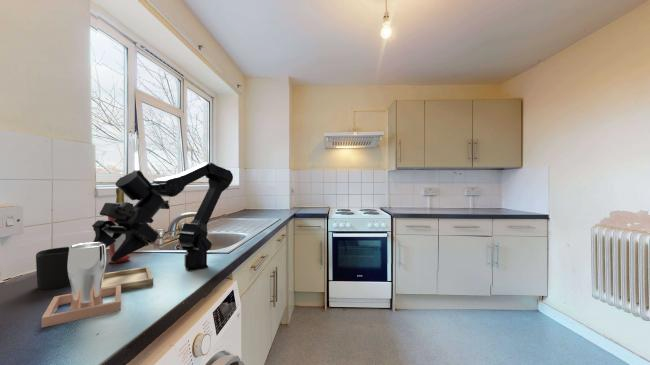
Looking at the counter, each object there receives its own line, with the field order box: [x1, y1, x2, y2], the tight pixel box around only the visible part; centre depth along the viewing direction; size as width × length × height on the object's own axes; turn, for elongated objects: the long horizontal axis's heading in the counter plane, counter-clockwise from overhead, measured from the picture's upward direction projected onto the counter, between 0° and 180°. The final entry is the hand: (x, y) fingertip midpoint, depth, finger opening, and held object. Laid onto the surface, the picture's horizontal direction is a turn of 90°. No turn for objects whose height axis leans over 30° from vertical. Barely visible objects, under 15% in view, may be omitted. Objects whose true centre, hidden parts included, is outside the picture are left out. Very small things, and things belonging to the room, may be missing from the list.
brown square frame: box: [41, 285, 122, 329], centre depth 64 cm, size 13×13×2 cm
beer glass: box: [67, 242, 107, 311], centre depth 64 cm, size 7×7×15 cm
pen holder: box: [35, 246, 71, 291], centre depth 78 cm, size 9×9×10 cm
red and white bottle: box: [107, 187, 131, 264], centre depth 101 cm, size 7×7×28 cm
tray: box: [101, 266, 154, 292], centre depth 79 cm, size 14×14×2 cm
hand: (100, 258), depth 67 cm, fingers open, 9 cm apart
